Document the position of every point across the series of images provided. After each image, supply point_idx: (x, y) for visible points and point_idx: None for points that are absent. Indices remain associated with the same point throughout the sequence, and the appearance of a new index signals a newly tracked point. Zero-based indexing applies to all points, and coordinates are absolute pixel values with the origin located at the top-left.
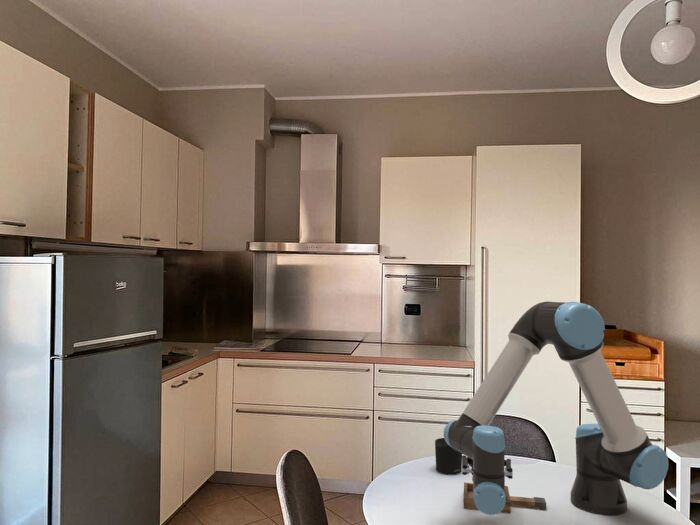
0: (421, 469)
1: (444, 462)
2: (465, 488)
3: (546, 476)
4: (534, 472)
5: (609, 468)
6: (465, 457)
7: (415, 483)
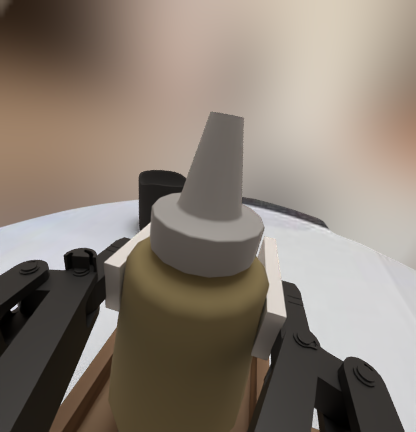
0: (115, 218)
1: (147, 216)
2: (108, 348)
3: (337, 267)
4: (312, 252)
5: None
6: (8, 290)
7: (46, 259)
